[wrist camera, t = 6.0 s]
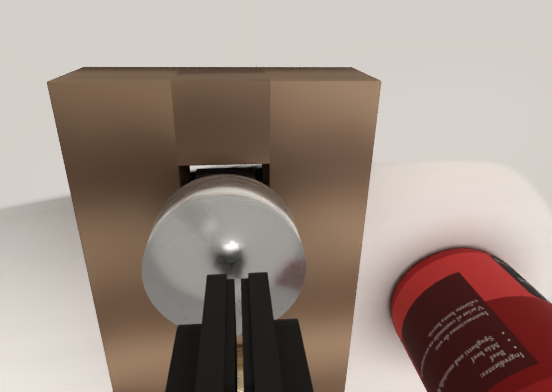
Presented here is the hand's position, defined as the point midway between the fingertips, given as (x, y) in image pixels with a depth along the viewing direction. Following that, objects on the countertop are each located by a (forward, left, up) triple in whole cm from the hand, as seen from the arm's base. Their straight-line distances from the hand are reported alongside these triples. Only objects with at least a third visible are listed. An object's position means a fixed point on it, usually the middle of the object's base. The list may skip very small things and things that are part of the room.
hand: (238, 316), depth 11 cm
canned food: (+8, +13, -11) cm, 19 cm away
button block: (+5, 0, -10) cm, 11 cm away
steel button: (0, 0, -7) cm, 7 cm away
